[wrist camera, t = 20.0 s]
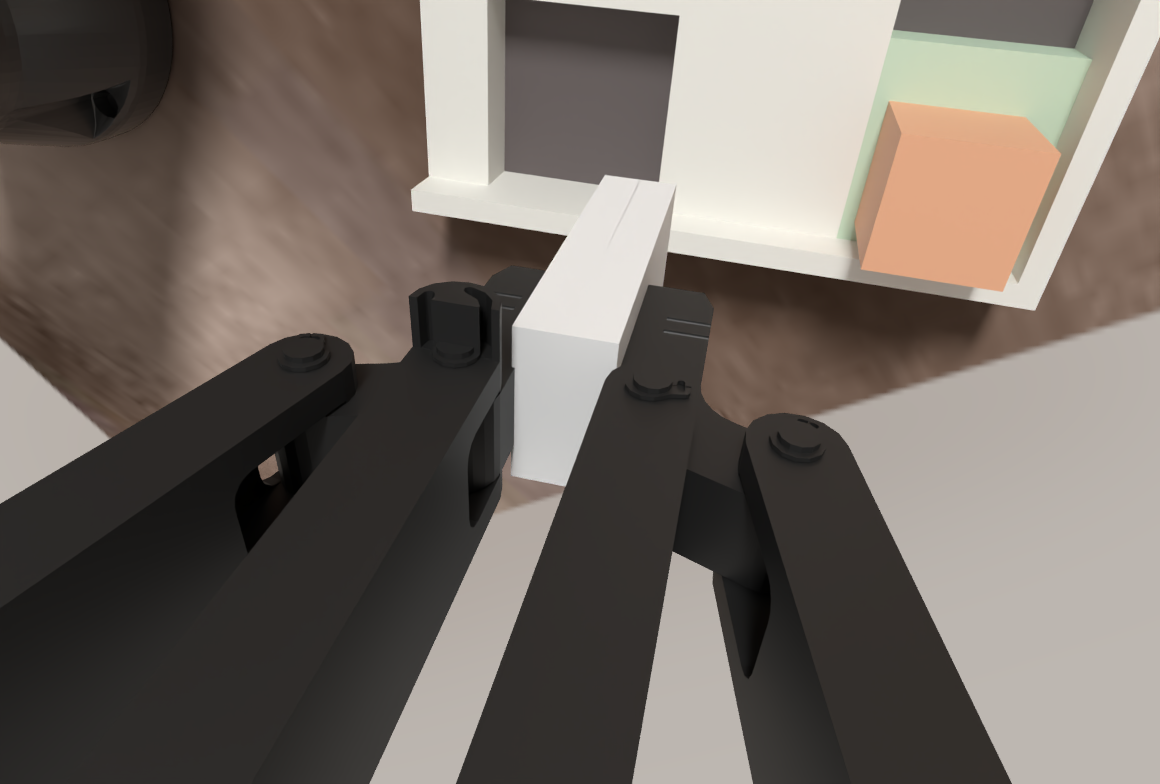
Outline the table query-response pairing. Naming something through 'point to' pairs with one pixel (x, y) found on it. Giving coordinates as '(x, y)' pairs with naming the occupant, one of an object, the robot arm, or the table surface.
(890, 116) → the block
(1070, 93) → the box
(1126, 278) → the table surface
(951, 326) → the table surface
